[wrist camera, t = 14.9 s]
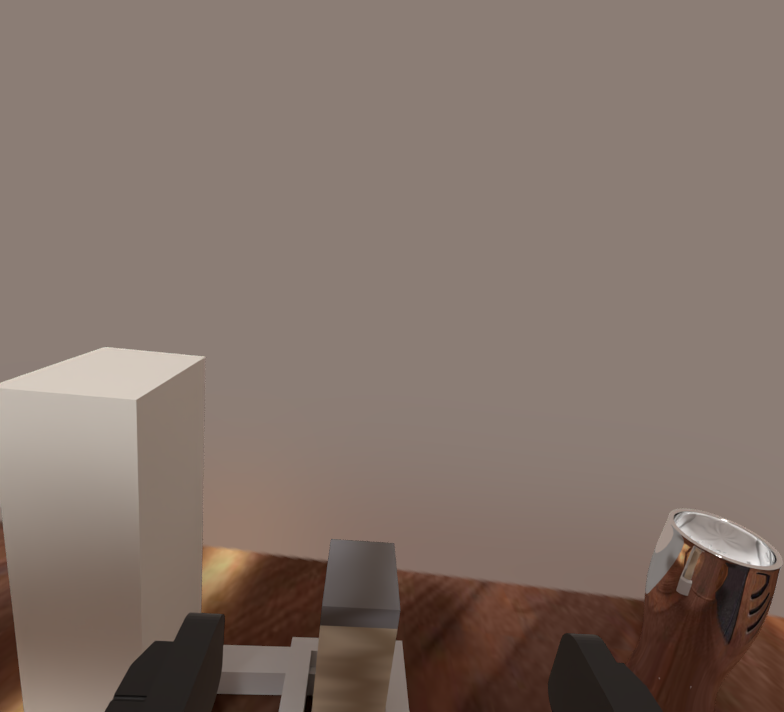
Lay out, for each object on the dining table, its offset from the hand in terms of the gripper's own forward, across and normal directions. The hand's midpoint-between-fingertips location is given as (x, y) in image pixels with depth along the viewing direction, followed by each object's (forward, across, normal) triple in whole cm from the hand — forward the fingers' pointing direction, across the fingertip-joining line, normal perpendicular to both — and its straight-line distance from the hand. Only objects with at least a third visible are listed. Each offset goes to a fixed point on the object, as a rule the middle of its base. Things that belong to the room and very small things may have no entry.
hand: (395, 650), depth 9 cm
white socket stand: (+13, +6, +23) cm, 27 cm away
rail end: (+12, 0, +23) cm, 25 cm away
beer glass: (+15, -27, +22) cm, 38 cm away
